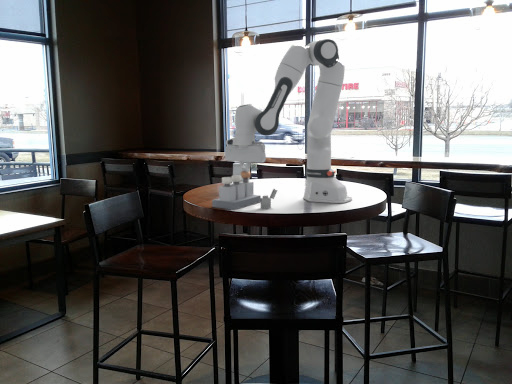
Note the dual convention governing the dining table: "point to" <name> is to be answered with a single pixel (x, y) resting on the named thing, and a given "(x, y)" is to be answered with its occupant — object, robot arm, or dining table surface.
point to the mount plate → (236, 196)
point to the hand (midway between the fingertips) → (245, 171)
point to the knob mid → (236, 179)
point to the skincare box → (238, 170)
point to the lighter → (268, 199)
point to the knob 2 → (245, 176)
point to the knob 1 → (226, 181)
